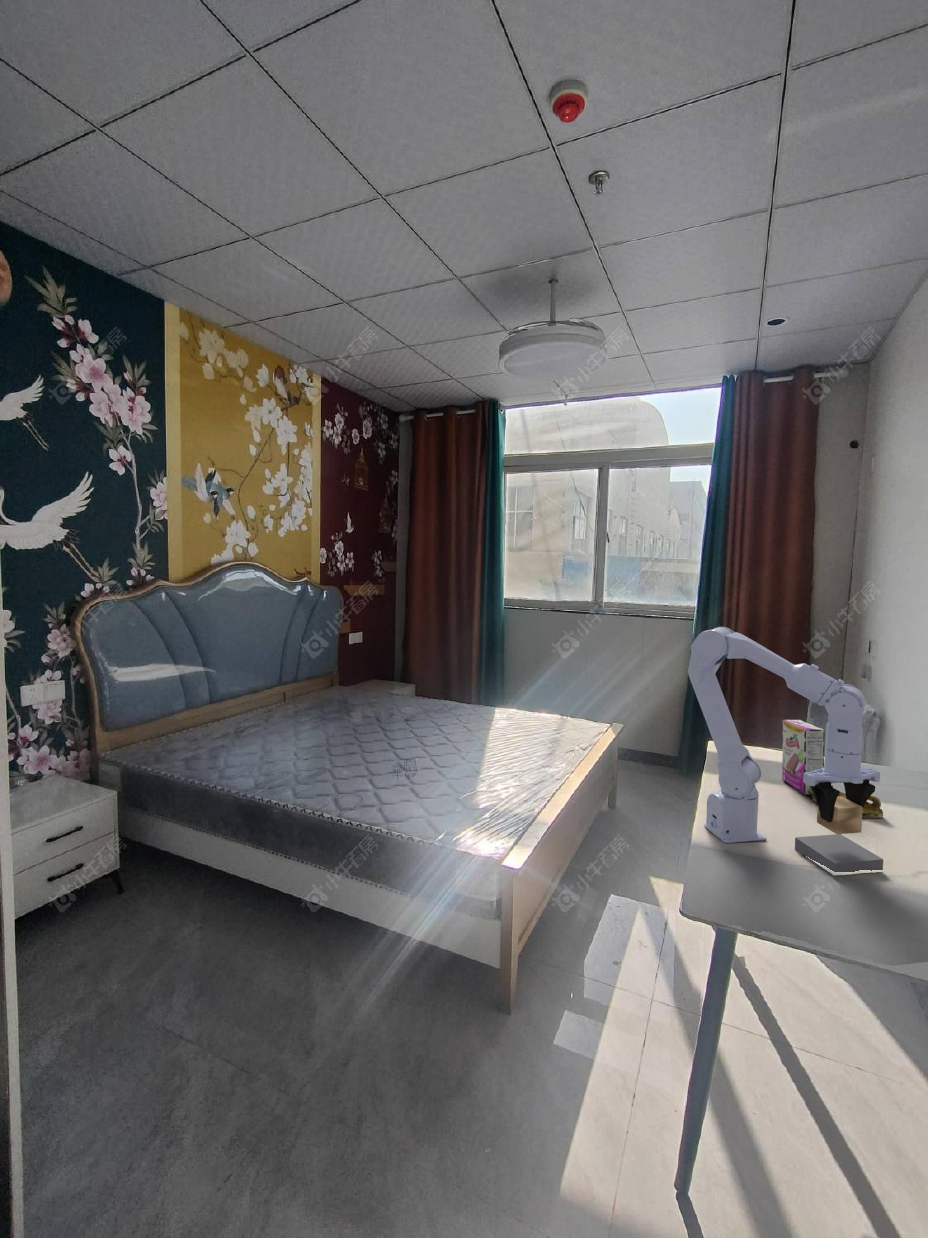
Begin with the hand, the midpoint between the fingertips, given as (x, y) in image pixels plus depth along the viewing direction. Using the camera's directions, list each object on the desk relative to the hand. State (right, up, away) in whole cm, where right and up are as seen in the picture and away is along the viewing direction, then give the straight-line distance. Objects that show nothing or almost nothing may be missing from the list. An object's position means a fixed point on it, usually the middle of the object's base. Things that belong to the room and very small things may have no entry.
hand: (839, 819), depth 107 cm
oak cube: (0, -2, 0) cm, 2 cm away
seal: (+17, -6, +24) cm, 31 cm away
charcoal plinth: (0, -8, +1) cm, 8 cm away
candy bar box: (+14, -5, +35) cm, 38 cm away
